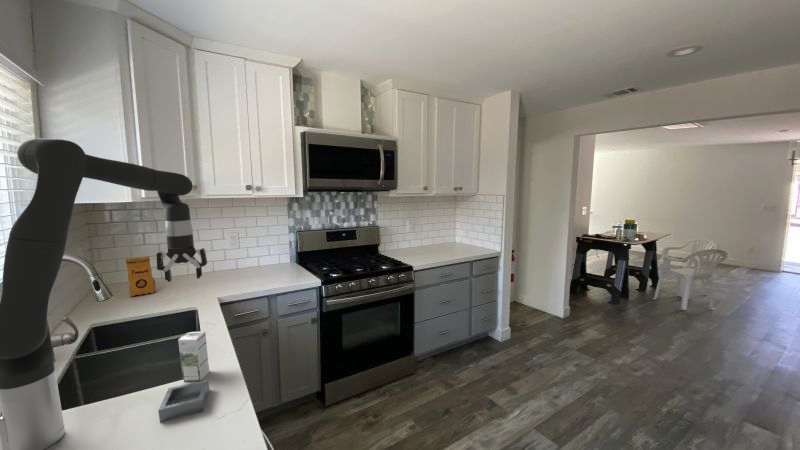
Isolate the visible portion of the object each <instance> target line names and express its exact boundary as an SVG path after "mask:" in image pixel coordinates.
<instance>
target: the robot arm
mask: <svg viewBox="0 0 800 450" xmlns="http://www.w3.org/2000/svg"><path fill="white" fill-rule="evenodd" d="M16 153H17V155H16V156H17V159H18V161H19V163H20V164H21V166H22V167H24V168H25V169H26V170H28V171H30V172H31V173H34V174H36V175H37V180H36V185H35V189H34V192H33V195H32V198H31V200H30V201H29V203H28V204H27V206H25V208H24V209H23V211H21V213H20V215H19V216H18V217H17V219H16V220H15V221H14V223H13V224H12V227H11V229H10V232H9V234H8V240H7V244H6V247H5V248H6V249H5V254H4V260H3V261H4V262H3V270H2V271H3V272H2V290H1V298H0V411H1V416H0V444H1V448H2V450H46V449H47V448H49V447H50V446H53V445H54V444H56V443H57V442H58V441H59V440H60V439H62V438H63V436H64V435H65V433H66V429H65V423H64V416H63V410H62V405H61V398H60V392H59V386H58V380H57V374H56V368H55V359H54V350H53V347H52V338H51V333H50V326H49V322H48V308H49V300H50V296H51V295H50V294H51V293H52V290H53V287H54V284H55V282H56V279H57V276H58V274H59V272H60V269H61V265H62V262H63V258H64V255H65V251H66V245H67V241H68V234H69V227H70V223H71V219H72V214H73V210H74V206H75V201H76V198H77V195H78V192H79V189H80V187H81V184H82V181H83V179H90V180H97V181H100V182H101V181H102V182H106V183H110V184H115V185H118V186H123V187H126V188H132V189H137V190H141V191H149V192H156V193H157V196H158V198H159V200H160V203H161V205H162V207H163V210H164V219H165V221H164V222H165V235H166V237H165V238H166V245H167V246H166V247H167V251H159V252H157V253H156V270H157V271H163V273H164V279H165V281H167V282H168V283H169V282H170V283H171V281H172V279H173V278H172V271H171V267H172V266H173V265H174V264H183V263H184V264H185V263H187V264H188V263H190V264H192V266H195V271H196V272H195V273H196V279H198V280H199V279H200V278H202V275H203V272H202V271H203V268H202V267H206V266H207V264H208V259H207V255H206V254H207V252H206V249H205V248H204V247H202V248H199V249H196V248H195V244H194V242H195V241H194V230H193V226H192V220H191V214H190V206H189V205H188V204H187V203H185V202H182V201H181V199H180V197H181V196H186V195H188V194H190V193H191V191H192V190H193V187H194V185H193V182H192V181H191V179H190V178H189V177H188V176H187V175H184V174H181V173H177V172H170V171H164V170H157V169H154V168H152V167H147V166H145V165H139V164H135V163H132V162H131V163H129V162H125V161H120V160H114V159H109V158H103V157H99V156H94V155H91V154H86V152H85V150H84V149H83V148H82V147H81V146H80V145H79V144H77V143H75V142H74V141H71V140H69V139H68V140H67V139H61V138H60V139H59V138H50V137H48V138H47V137H38V138H32V139H29V140H26V141H24V142H23V143H22V144H20V145H19V147H18V149H17V152H16ZM196 253H197V254H198V255H199V256H200V259H201V262H200V261H199V260H198V259H197V258H196V257H195V255H196ZM166 257H168V258H169V259H170V260H169V262H167V264H166V265H164V259H165V258H166Z"/></svg>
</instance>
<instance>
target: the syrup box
mask: <svg viewBox="0 0 800 450" xmlns="http://www.w3.org/2000/svg"><path fill="white" fill-rule="evenodd" d="M177 341H178V348H179V356H180V365H181V374H182V375H181V376H182V381H183V380H184V381H183V382H199V381H203V379H204V378H205V377H206V376H207V375H208V374H209V372H210V365H209V363H210V362H209V354H208V345H207V343H208V342H207V334H206V331H191V332H190V331H189V332H186V333H185V334H183V335H182V336H181V337H180V338H178V340H177ZM186 379H187V380H186Z"/></svg>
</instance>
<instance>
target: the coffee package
mask: <svg viewBox="0 0 800 450" xmlns="http://www.w3.org/2000/svg"><path fill="white" fill-rule="evenodd" d="M125 263H126V269H127V280H128V284H129V287H128V288H129V290H128V291H129V292H128V293H129V296H130V297H136V296H135V295H139V296H143V295H142V294H147V295H149V294H148V293H152V294H155V292H156V291H157V289H156V281H155V279H154V277H153V273H152V272H153V271H152V267H151V260H150V256H143V257H142V256H141V257H135V258H134V257H133V258H125ZM155 290H156V291H155ZM154 291H155V292H154Z"/></svg>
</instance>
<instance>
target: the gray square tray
mask: <svg viewBox="0 0 800 450" xmlns="http://www.w3.org/2000/svg"><path fill="white" fill-rule="evenodd" d="M210 390H211V389H210V382H209V379H206V380H205V379H204V380H200V381H194V382H191V383H186V384H181V385H178V386H173V387H172V386H171V387H168V388H167V391H166V392H165V395H164V397H163V400H162V402H161V404H160V406H159V408H158V409H157V410H158V418H159V419H158V420H159V423H162V422H167V421H170V420H174V419H179V418H182V417H187V416H191V415H195V414H199V413H203V412H205V408H206V405H207V401H208V397H209V393H210ZM194 396H198V398H194V399H189V400H187V401H186V400H185V401H181V402H178V403H174V401H177V400H182V399H186V398H190V397H194Z"/></svg>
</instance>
